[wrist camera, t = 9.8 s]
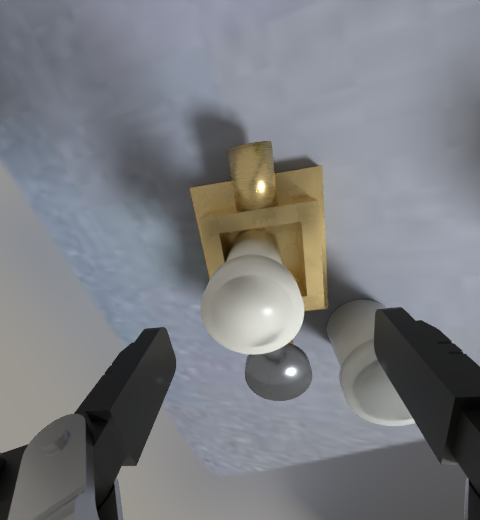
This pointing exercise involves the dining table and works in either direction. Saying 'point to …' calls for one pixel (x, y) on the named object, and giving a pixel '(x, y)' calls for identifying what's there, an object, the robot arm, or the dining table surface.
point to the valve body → (286, 236)
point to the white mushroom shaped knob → (252, 298)
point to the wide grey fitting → (364, 365)
